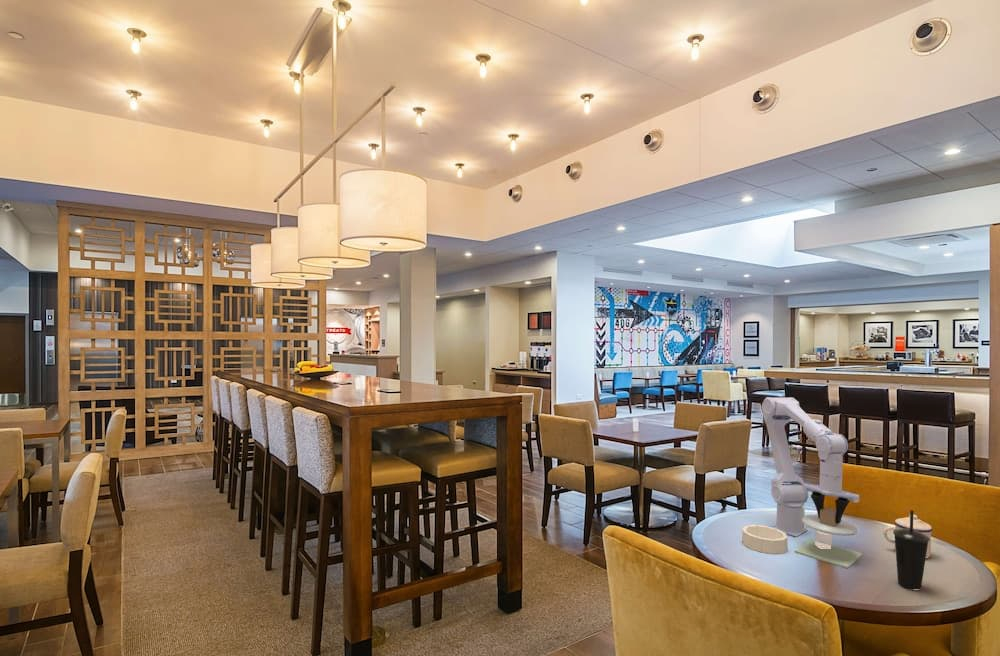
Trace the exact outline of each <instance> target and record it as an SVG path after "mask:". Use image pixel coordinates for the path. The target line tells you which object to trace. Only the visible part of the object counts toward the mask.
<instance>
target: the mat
mask: <svg viewBox="0 0 1000 656" xmlns="http://www.w3.org/2000/svg"><path fill="white" fill-rule="evenodd" d="M815 540H816V539H813V538H811V539H810V540H808V541H806V542H805V543H803V544H802V545H801V546H799V547H798V548H796V549H795V550H794V551H793V552H794V553H795V554H800V555H803V556H806V557H809V558H812V559H814V560H819V561H822V562H825V563H828V564H831V565H835V566H837V567H841V568H844V569H847V570H848V569H849V568H850V567H851V566H853V564H855V563H856V562H857V561H858V560H859V559H860V558H862V557H863V555H864V553H862V552H858V551H855V550H851V549H847V548H844V547H841V546H837V545H833V544H831V549H820V548H818V547H817V546H816V545H815Z"/></svg>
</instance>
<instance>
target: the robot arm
mask: <svg viewBox="0 0 1000 656" xmlns="http://www.w3.org/2000/svg"><path fill="white" fill-rule="evenodd" d="M800 406H801V405H800V401H798V400H797V399H795V398H794V397H791V396H790V397H771V396H770V397H769V396H766V398H764V400H763V401H762V404H761V410H762V411H761V412H762V415H763V420H764V423H765V425H766V428H767V432H768V437H769V443H770V447H771V448H770V449H771V452H772V456H773V461H774V466H775V470H776V475H775V476H774V477H773V478H772V479H771V481H770V483H771V491H770V492H771V493H770V494H771V497H772V499H773V500H774V503H776V525H775V526H773V527H772V528H775V529H778V530H780V531H782V532H784V533H786V535H789V536H793V537H799V536H800V535H802V534H803V533H805V532H806V531H808V527H807V528H806V527H805V524H804V523H803V522H802V518H803V517H804V516H806V515H805V508H804V506H805V503H806V502H807V501H808V499H809V492H810V493H811V494H810V498H811V500H812V501H813V503H814V506H815V508H816V512H817V515H818V518H819V519H820V509H822V508H824V507H825V499H826V496H827V497H832V498H837V499H835V500H834V503H835V510H836V523H838V524H839V523H840V522H841V520H842V517H843V514H844V512H845V510H846V509H847V506H848V505H849V503H850V502H853V503H855V504H857V503H859V502H860V494H856V493H854V492H853V493H852V492H850V491H847V490H843V487H842V486H843V483H842V482H843V462H844V461H843V455H844V454H846V452H847V451H848V449H849V444H848V440H847V438H846V437H845V436H844V435H843V434H840V433H835V432H833V431H832V430H831V429H829V428H828V426H826V425H825V424H823V421H822V420H821V419H816V418H815V419H812V418H811V417H810V415H808V414H807V413H806V412H805V411H804V410H803V409H802V408H801V407H800ZM792 420H794V421H795V422H796V423H798V424H799V425H800V426H801V427H802V431H803V432H804V434H805V435H806V436H807V437H808V438H810V440H812V441H813V443H815V447H816V450H817V454H818V455H817V456H818V458H819V484H811V483H810V484H809V483H804V480H803V478H802V477H800V476H799V475H797V474H796V472H795V469H794V464H793V459H792V455H791V451H790V447H789V441H788V438H787V434H786V429H785V426H786V425H787V424H788V423H790V422H791V421H792Z"/></svg>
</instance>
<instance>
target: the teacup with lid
mask: <svg viewBox="0 0 1000 656" xmlns="http://www.w3.org/2000/svg"><path fill="white" fill-rule="evenodd" d="M894 524H895V526H887V527H885V528H883V536H884V538H885V539H886V541H887V542H888V543H891V544H894V545H895V540H892V539H889V537H888V531H889V530H893V531H894V530H897V529H910V514H909V516H906V517H901V518H896V519H895V520H894ZM913 530H916V531H919V532H921V533H923V534H924V535H926V536H928V537H929V538H930V541H929V542H928V546H927V553H926V557H929V556H930V557H931V555H932V553H931V552H932V551H931V549H932V548H931V547H932V531H933V527H932V526H931V525H930V524H929V523H927V522H924V521H922V520H921V519H919V518H918V515H916V514H913ZM894 551H896V548H895V547H894Z"/></svg>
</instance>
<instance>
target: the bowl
mask: <svg viewBox="0 0 1000 656" xmlns="http://www.w3.org/2000/svg"><path fill="white" fill-rule="evenodd" d="M787 535H788V534H786V533H784V532H782V531H780V530H778V529H775V528H773V527H771V526H767V525H759V524H751V525H749V524H747V525H745V526H742V531H741V541H743V542H742V545H743V544H744V545H743V546H745V547H746V548H748V549H750V550H753V551H755V552H759V553H764V554H771V555H779V554H785V553H786V552H787V551H788V540H789V539H788V536H787Z"/></svg>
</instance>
